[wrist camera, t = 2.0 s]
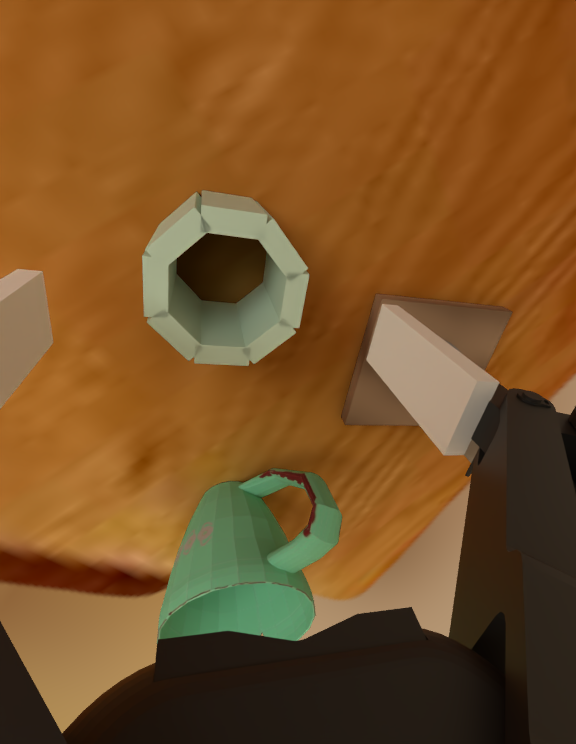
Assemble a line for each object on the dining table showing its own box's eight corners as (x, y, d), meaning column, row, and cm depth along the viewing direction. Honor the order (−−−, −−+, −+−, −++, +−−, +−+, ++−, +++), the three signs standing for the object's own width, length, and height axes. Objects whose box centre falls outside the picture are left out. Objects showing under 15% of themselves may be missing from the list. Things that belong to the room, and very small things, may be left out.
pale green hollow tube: (157, 182, 19) (140, 196, 14) (291, 204, 21) (319, 222, 16) (158, 312, 22) (144, 360, 17) (273, 321, 24) (291, 367, 19)
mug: (243, 550, 35) (255, 675, 27) (146, 520, 31) (124, 659, 22) (346, 446, 31) (400, 558, 23) (251, 394, 27) (274, 509, 18)
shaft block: (376, 293, 24) (453, 359, 17) (502, 306, 27) (620, 369, 19) (340, 416, 29) (389, 511, 22) (451, 418, 32) (529, 503, 24)
